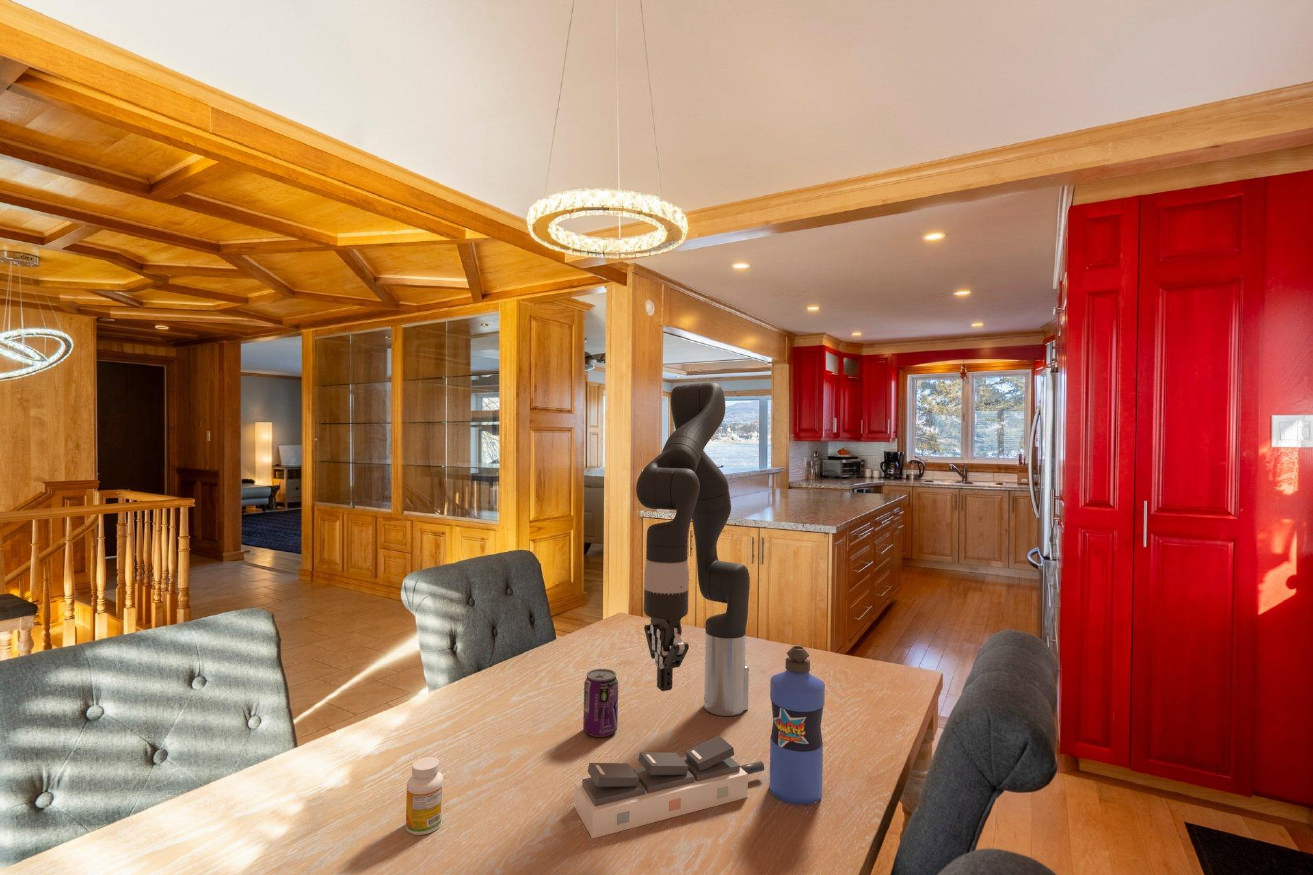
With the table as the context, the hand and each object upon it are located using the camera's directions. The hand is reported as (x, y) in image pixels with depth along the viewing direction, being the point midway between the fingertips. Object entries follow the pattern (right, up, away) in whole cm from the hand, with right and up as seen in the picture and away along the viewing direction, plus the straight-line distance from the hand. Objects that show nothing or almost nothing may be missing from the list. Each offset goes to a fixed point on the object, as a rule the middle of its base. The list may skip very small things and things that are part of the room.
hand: (664, 688), depth 105 cm
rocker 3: (+8, -13, +4) cm, 15 cm away
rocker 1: (-8, -12, -4) cm, 15 cm away
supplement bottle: (-38, -19, -8) cm, 43 cm away
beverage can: (-13, -19, +25) cm, 34 cm away
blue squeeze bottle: (+23, -20, +4) cm, 31 cm away
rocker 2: (0, -13, 0) cm, 12 cm away
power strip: (+2, -19, +1) cm, 19 cm away
